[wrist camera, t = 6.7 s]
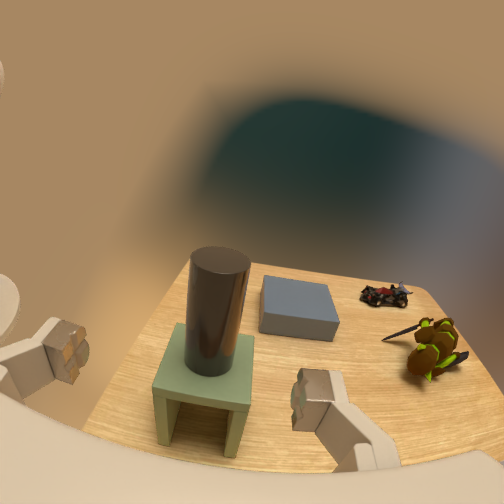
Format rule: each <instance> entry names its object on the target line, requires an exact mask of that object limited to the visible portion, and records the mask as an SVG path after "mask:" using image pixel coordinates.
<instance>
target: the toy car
mask: <svg viewBox="0 0 504 504" xmlns="http://www.w3.org/2000/svg"><path fill="white" fill-rule="evenodd" d="M361 293H363V294H362V295H361V297H360V299H362V300H366V301H369V303H371V304H373V305H375V306H376V307H378V306H380V305H385V306H400V307H405V306H407V305H408V304H407V302H408V299H407V294H412V293H413V292H411V293H410V292H409V291H407V290H406V289H405V288H404V286H403V285H402V282H401V283H399V287H398V288H395V287H394V285H391V288H390V289H387V288H385V287H382V288H379V289H378V288H373V287H370V286H368V285H367V286H366V288H365V289H364V290H363V291H361ZM406 293H407V294H406Z"/></svg>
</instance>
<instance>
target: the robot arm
mask: <svg viewBox="0 0 504 504" xmlns="http://www.w3.org/2000/svg"><path fill="white" fill-rule="evenodd" d="M3 85H4V70H3V66H2V63H1V61H0V96H1V94H2V90H3ZM85 336H86V331H85V328H84V327H82V326H79V325H77V324H74V323H70V322H68V321H65V320H61V319H58V318H56V317H51V318H49V319H48V320H47V321H46V323H45V324H44V325H43V326H42V327H41V328H40V329H39V331H37V333H36V334H35V335H34V336H33V337H32V338H31V339H29V338H28V339H24V340H22V341H19V342H16V343H14V344H11V345H8V346H6V347H3V348H0V504H504V466H503V465H502V464H500V463H499V462H498V461H496V460H495V459H494V458H492V457H491V456H490V455H488V454H487V453H485V452H483V451H482V450H473V451H469V452H465V453H461V454H458V455H454V456H450V457H446V458H441V459H437V460H432V461H428V462H423V463H417V464H412V465H406V466H402V465H401V462H400V458H399V455H398V451H397V448H396V445H395V441H394V440H393V439H392V438H391V437H390V436H389V435H388V434H387V433H386V432H384V431H383V430H382V429H381V428H380V427H379V426H378V425H377V424H376V423H375V422H373V421H372V420H371V419H370V418H369V417H368V416H367V415H366V414H365V413H364V412H362V411H361V410H360V409H359V408H358V407H357V406H356V405H355V404H354V403H350V402H349V398H348V394H347V390H346V387H345V383H344V379H343V375H342V372H341V371H336V370H318V369H305V368H301V369H300V370H299V372H298V375H297V379H298V381H297V382H296V383H294V386H293V388H292V393H291V408H292V409H293V410H294V412H293V414H292V416H291V417H292V431H305V432H315V434H316V436H317V437H318V438H319V440H320V441H321V442H322V444H323V445H324V446H325V448H326V449H327V450H328V452H329V453H330V454H331V456H332V457H333V458H334V459H335V461H336V462H337V463H338V466H337V468H336V469H335V470H334V471H333V472H332V473H279V472H263V471H251V470H241V469H232V468H224V467H217V466H211V465H204V464H199V463H193V462H188V461H183V460H178V459H173V458H169V457H164V456H160V455H156V454H152V453H148V452H144V451H141V450H137V449H134V448H130V447H127V446H123V445H120V444H117V443H114V442H111V441H108V440H105V439H102V438H99V437H96V436H94V435H91V434H88V433H85V432H83V431H80V430H78V429H75V428H73V427H70V426H68V425H65V424H63V423H61V422H58V421H56V420H54V419H52V418H50V417H47V416H45V415H43V414H41V413H39V412H37V411H35V410H33V409H31V408H29V407H27V406H26V405H25V403H24V401H23V399H24V398H26V397H27V396H29V395H31V394H32V393H34V392H36V391H37V390H39V389H41V388H42V387H44V386H45V385H47V384H49V383H51V382H52V381H54V380H55V379H58V380H60V381H63V382H66V383H69V384H72V385H73V383H74V382H75V380H76V378H77V377H78V375H79V374H80V373H79V368H81V367H83V366H85V364H86V362H87V360H88V357H89V345H88V343H87V341H86V340H85V339H84V338H85Z"/></svg>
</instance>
